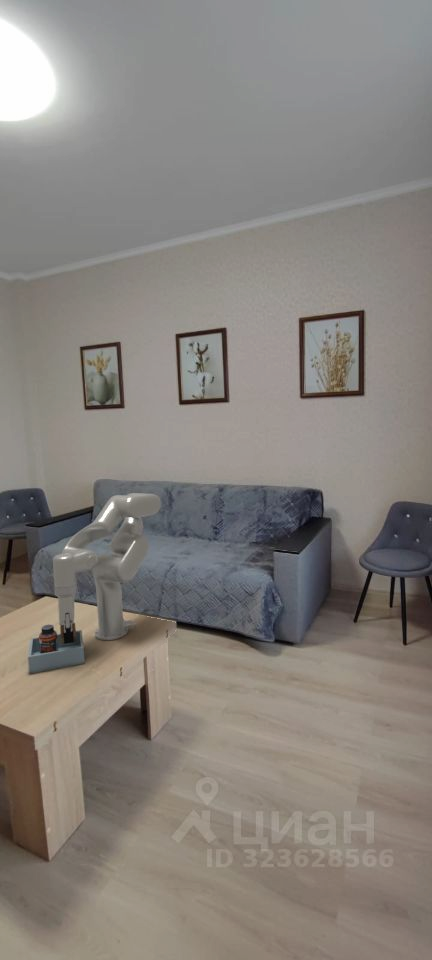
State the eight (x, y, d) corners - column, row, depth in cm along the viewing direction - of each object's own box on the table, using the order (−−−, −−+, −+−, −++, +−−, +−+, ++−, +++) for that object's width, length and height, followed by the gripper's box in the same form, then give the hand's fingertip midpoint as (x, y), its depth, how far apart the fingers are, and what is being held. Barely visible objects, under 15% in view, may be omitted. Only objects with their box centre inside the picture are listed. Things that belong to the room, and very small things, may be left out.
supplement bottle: (40, 663, 156) (38, 631, 155) (40, 655, 161) (37, 625, 160) (59, 659, 158) (56, 628, 157) (57, 652, 164) (55, 621, 162)
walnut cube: (75, 636, 164) (75, 622, 164) (76, 642, 159) (75, 628, 159) (61, 638, 163) (60, 624, 162) (61, 644, 158) (60, 630, 157)
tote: (82, 644, 170) (81, 630, 170) (84, 663, 157) (83, 647, 156) (32, 653, 165) (30, 638, 164) (29, 673, 151) (28, 657, 150)
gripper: (54, 583, 166) (57, 631, 168) (54, 598, 150) (57, 651, 152) (76, 580, 168) (79, 628, 170) (78, 595, 152) (80, 648, 154)
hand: (68, 638), depth 161 cm, fingers closed on walnut cube, 5 cm apart
